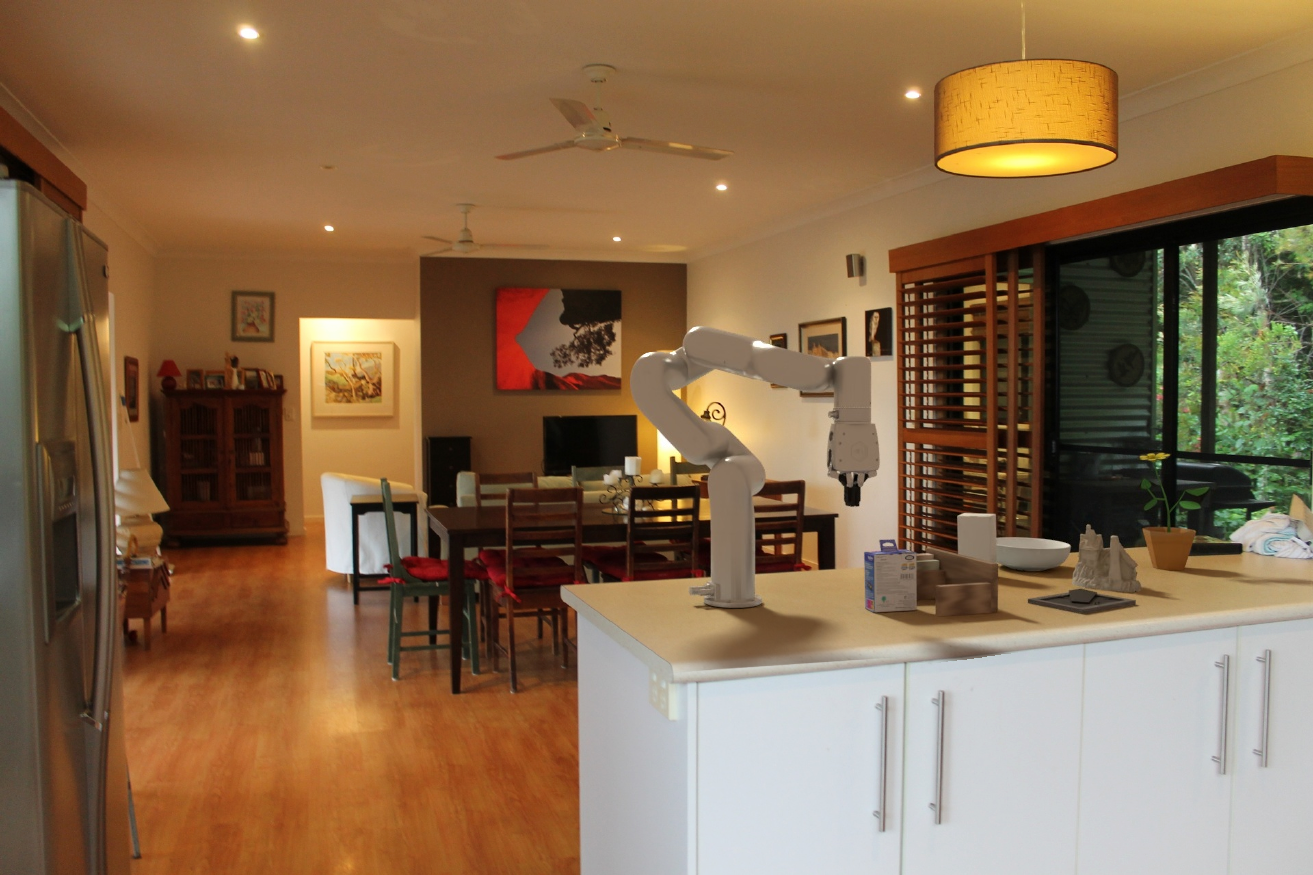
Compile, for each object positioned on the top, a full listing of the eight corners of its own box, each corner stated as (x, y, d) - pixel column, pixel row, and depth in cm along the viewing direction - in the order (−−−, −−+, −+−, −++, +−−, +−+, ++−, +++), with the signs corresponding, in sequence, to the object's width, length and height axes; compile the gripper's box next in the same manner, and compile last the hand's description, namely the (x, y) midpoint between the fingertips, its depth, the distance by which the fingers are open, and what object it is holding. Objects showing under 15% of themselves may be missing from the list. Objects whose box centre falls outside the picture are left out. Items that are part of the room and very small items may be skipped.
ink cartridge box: (905, 605, 210) (905, 538, 209) (918, 611, 205) (918, 541, 204) (862, 608, 208) (863, 539, 207) (874, 613, 202) (874, 543, 202)
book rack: (939, 616, 199) (940, 567, 199) (878, 594, 222) (879, 550, 222) (997, 612, 203) (998, 563, 203) (931, 590, 226) (932, 547, 226)
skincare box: (997, 576, 246) (998, 513, 246) (991, 580, 240) (991, 516, 240) (963, 573, 251) (964, 511, 250) (956, 576, 245) (956, 514, 244)
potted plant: (1115, 563, 265) (1116, 452, 264) (1180, 562, 267) (1181, 451, 266) (1155, 574, 248) (1157, 455, 247) (1225, 573, 250) (1227, 454, 249)
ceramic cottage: (1129, 593, 222) (1129, 526, 223) (1058, 586, 234) (1059, 523, 235) (1157, 589, 233) (1157, 525, 233) (1088, 583, 245) (1088, 522, 245)
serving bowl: (1047, 578, 243) (1047, 550, 243) (970, 568, 259) (970, 542, 258) (1084, 568, 257) (1085, 542, 257) (1009, 559, 273) (1009, 534, 272)
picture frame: (1080, 597, 222) (1027, 606, 212) (1080, 588, 222) (1027, 596, 212) (1135, 607, 210) (1082, 617, 201) (1135, 598, 210) (1082, 607, 201)
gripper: (827, 417, 196) (827, 509, 197) (894, 416, 201) (894, 506, 201) (811, 416, 204) (811, 505, 204) (875, 416, 208) (875, 503, 208)
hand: (852, 505), depth 203 cm, fingers closed
